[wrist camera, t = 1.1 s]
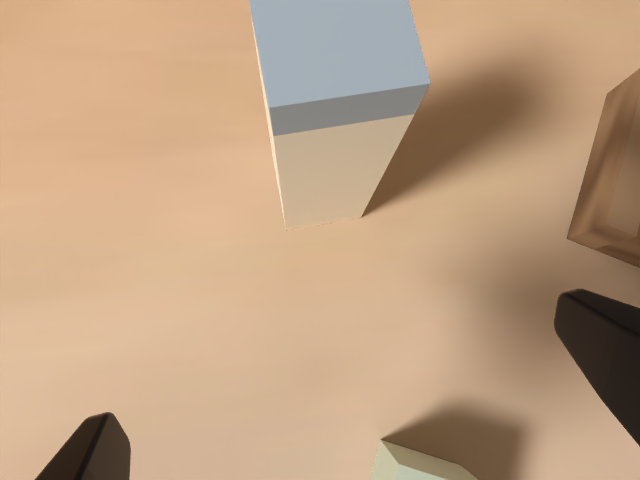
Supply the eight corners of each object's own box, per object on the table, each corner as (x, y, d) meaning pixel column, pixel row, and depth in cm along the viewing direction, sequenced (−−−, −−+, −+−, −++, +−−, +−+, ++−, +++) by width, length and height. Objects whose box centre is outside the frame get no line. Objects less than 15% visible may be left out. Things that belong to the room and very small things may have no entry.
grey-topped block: (360, 217, 23) (431, 83, 10) (286, 231, 22) (269, 107, 10) (345, 148, 23) (394, -51, 11) (273, 160, 23) (243, -33, 11)
